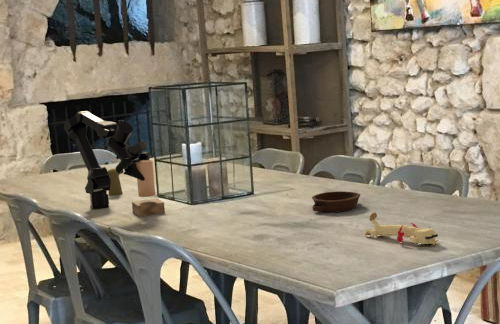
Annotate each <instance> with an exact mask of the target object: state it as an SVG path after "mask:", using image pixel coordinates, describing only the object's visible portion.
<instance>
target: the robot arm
mask: <svg viewBox="0 0 500 324" xmlns="http://www.w3.org/2000/svg"><path fill="white" fill-rule="evenodd" d="M88 127H89V128H91V129H93V130H94V131H95V132H96V135H97V136H98V137H99V138H101V140H105V139H108V140H107V141H106V142H104V145H105V146H104V150H106V151H107V150H109V149H110V150H111V151H112V153H114V154H115V156H116V157H115V158H116V160H120V161H119V162H118V164H117V165H116V166H115V169H116V172H117V173H118V174H120V175H122V174H123V175H127V176H129V177H133V178H134V179H136V180H137V179H139V180H142V181H144V180H145V178H144V177H143V175H142V174H141V173H140V171H139V170H138V169H137V167H136V162H137V161H143V160H150V159H151V158H152V156H153V155H152V154H151V153H150V152H149V151H147V150H148V142H146V141H144V140H143V139H142V140H140V141H138V142H137V143H136V144H134V145H128V144H127V143H126V142H127V141H128V140H129V138H130V136H131V134H132V133H133V131H134V128H133V125H131V124H130V123H128V122H126V121H124V119H121V120H118V122H114V121H110V120H109V121H108V120H103V119H102V118H100V117H98V116H96V115H94V114H92V113H91V112H90V111H88V110H84V111H83V110H82V111H78V112H77V113H75V115H73V116H71V117H70V118H68V119H67V120H65V122H64V125H63V129H64V131H65V132H66V134H67V136H68V137H69V138H70V139H71V140H72V141H74V142H75V145H76V147H77V149H78V151H79V153H80V156H81V157H82V160H83V163H84V164H85V167H86V170H87V172H88V173H87V178H86V180H87V183H86V185H85V187H84V191H85V193H86V194H89V200H90V205H89V206H90V208H91V209H93V210H96V209H102V208H109V207H110V200H109V199H110V198H109V193H108V194H107V192H109V191H110V185H111V178H110V177H109V176H110V175H109V174H108V169H107V167H106V166H103V167H102V166H100V164H99V162H98V159H97V157H96V155H95V152H94V150H93V147H92V146H91V143H90V141H89V139H88V137H87V132H88ZM143 151H144V152H143Z"/></svg>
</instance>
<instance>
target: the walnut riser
mask: <svg viewBox="0 0 500 324" xmlns="http://www.w3.org/2000/svg"><path fill="white" fill-rule="evenodd" d="M131 205H132V206H131V207H132V213H133V214H135V215H136V216H137V217H145V216H151V215H157V214H158V215H159V214H165V212H166V210H165V202H164V201H163V200H161V199H159V198H150V199H143V200H135V201H131Z"/></svg>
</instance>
